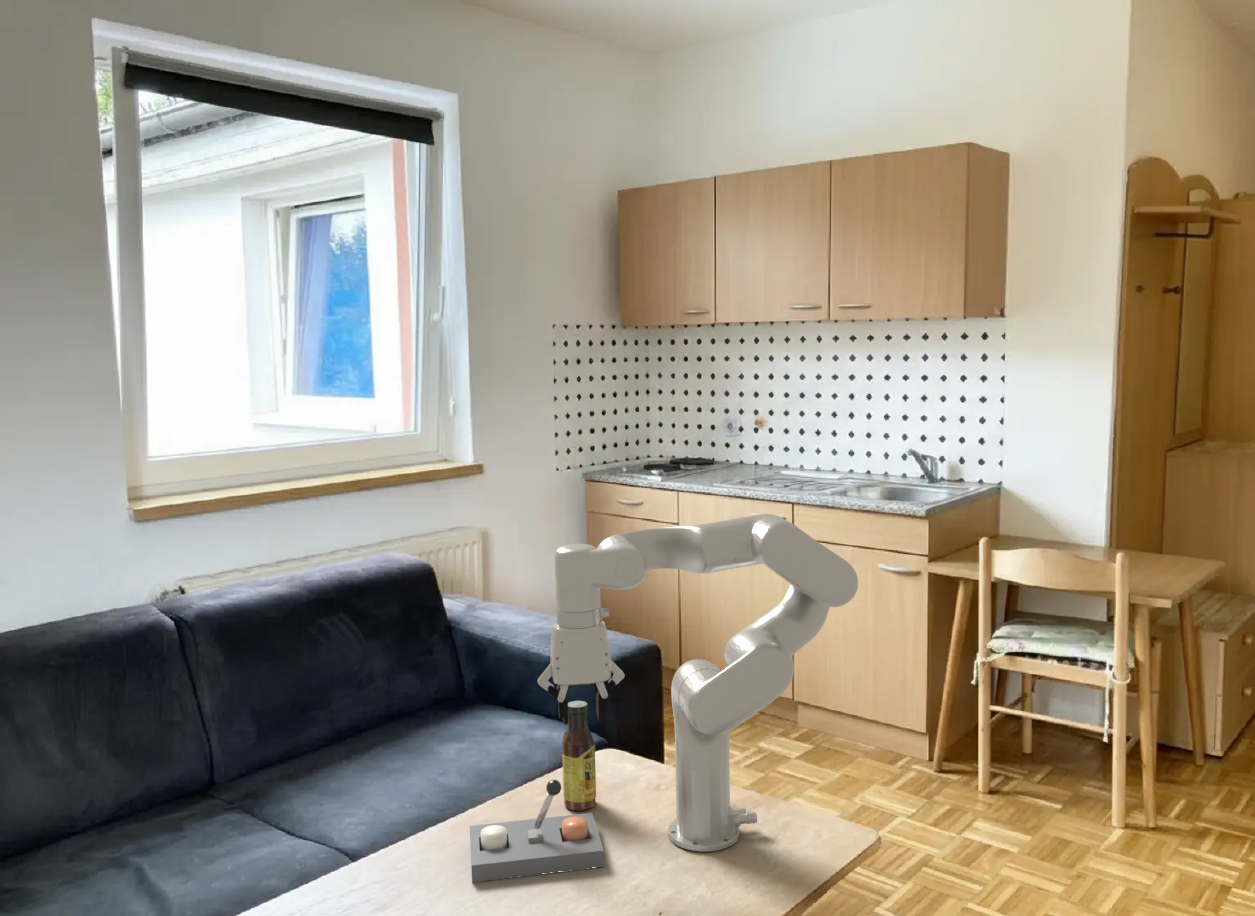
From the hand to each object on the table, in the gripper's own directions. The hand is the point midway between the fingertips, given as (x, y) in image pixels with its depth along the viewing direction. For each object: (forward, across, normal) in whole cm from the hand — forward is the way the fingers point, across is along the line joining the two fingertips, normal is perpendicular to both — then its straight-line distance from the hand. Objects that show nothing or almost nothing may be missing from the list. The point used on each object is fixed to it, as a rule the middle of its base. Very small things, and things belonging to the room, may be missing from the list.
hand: (582, 719), depth 173 cm
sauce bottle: (+24, -1, -17) cm, 29 cm away
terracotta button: (+22, +2, 0) cm, 22 cm away
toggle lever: (+19, +9, 0) cm, 21 cm away
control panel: (+23, +9, 0) cm, 25 cm away
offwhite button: (+22, +16, 0) cm, 27 cm away
